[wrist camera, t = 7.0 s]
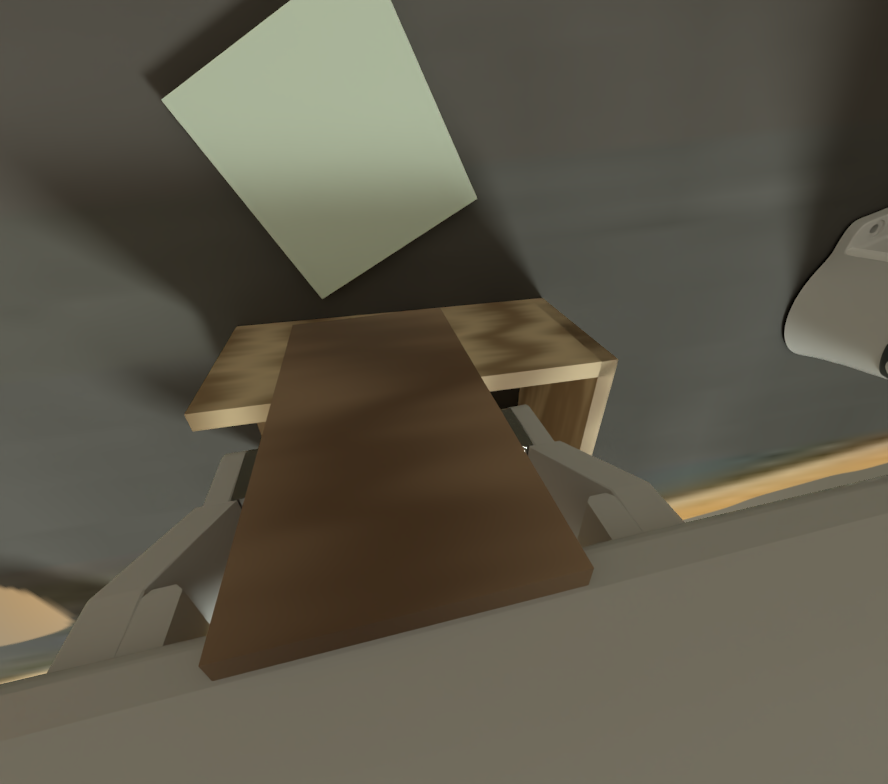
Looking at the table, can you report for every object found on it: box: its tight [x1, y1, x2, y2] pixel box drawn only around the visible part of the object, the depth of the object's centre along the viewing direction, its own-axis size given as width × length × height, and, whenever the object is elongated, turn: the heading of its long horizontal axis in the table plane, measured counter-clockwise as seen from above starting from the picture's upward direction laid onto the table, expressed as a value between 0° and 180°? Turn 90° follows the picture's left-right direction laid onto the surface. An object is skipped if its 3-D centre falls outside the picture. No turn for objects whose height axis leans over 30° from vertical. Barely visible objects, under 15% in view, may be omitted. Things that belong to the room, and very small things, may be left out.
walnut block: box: [198, 308, 594, 681], centre depth 9 cm, size 4×4×9 cm
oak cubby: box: [184, 298, 618, 456], centre depth 32 cm, size 26×14×12 cm, turn 91°
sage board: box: [162, 0, 477, 299], centre depth 25 cm, size 14×14×1 cm
